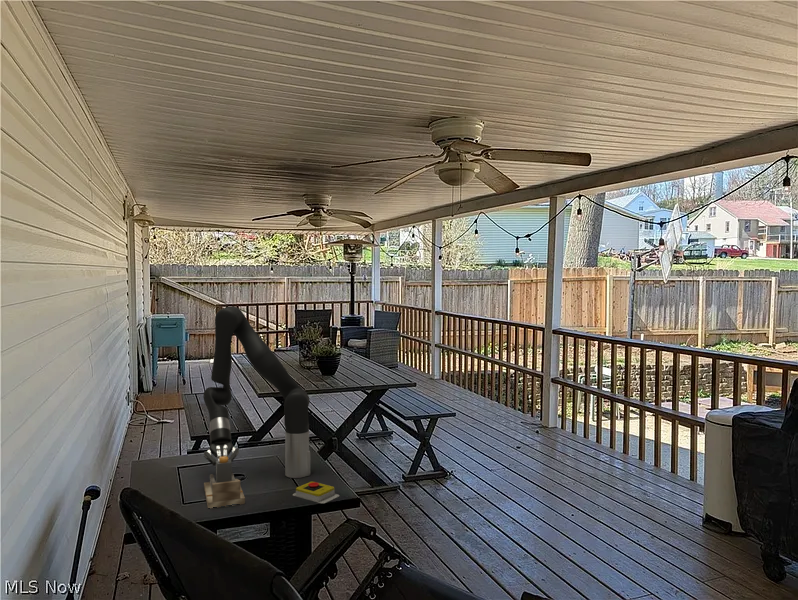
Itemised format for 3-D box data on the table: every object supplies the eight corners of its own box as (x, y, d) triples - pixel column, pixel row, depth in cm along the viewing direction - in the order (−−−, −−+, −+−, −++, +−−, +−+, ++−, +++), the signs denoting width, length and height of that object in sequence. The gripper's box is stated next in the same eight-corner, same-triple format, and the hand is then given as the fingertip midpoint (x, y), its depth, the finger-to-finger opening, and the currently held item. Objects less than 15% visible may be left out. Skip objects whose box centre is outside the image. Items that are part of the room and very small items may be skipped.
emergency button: (309, 477, 211) (340, 484, 203) (309, 488, 211) (340, 497, 203) (291, 484, 203) (323, 492, 195) (291, 496, 203) (323, 505, 195)
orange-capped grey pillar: (230, 487, 205) (230, 454, 204) (231, 490, 201) (231, 458, 201) (215, 488, 203) (215, 456, 203) (216, 492, 199) (216, 459, 199)
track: (237, 484, 214) (237, 462, 214) (244, 503, 195) (244, 480, 195) (204, 488, 210) (204, 466, 210) (207, 508, 190) (207, 485, 190)
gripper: (202, 428, 210) (204, 471, 199) (239, 425, 215) (243, 467, 204) (201, 439, 215) (203, 481, 204) (237, 436, 220) (241, 477, 209)
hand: (223, 474), depth 204 cm, fingers closed
